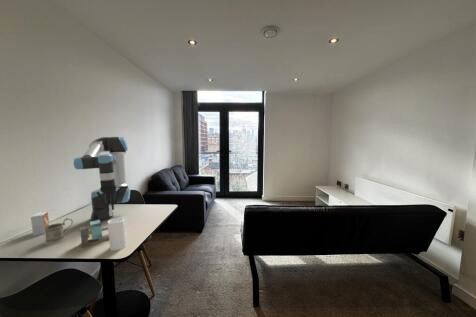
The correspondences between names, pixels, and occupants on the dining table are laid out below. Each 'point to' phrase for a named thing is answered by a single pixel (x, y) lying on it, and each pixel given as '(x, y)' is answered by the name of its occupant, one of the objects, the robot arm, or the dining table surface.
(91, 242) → the rail
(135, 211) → the dining table surface
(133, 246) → the dining table surface
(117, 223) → the cup
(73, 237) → the dining table surface
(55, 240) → the mug
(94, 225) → the sleeve
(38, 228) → the small box
